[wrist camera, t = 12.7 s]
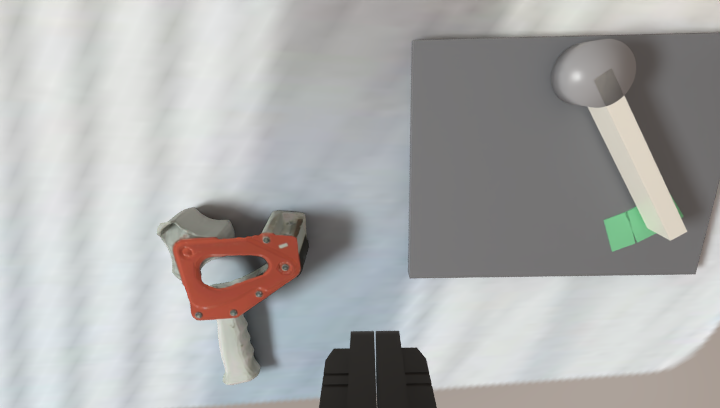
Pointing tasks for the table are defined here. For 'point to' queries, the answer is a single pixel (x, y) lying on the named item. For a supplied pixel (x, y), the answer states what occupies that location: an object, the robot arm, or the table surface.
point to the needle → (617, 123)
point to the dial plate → (554, 160)
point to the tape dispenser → (231, 299)
